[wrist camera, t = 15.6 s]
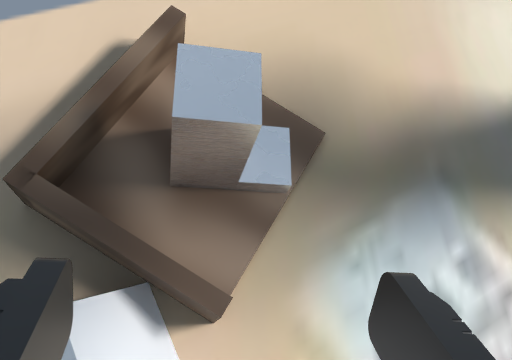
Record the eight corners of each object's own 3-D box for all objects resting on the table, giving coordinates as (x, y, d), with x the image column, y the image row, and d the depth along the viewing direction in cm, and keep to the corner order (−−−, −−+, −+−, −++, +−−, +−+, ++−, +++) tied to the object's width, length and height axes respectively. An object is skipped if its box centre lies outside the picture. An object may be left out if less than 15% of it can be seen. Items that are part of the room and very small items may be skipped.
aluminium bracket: (169, 185, 29) (172, 116, 20) (174, 128, 30) (178, 43, 22) (285, 193, 30) (330, 131, 22) (283, 137, 32) (324, 61, 24)
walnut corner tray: (170, 43, 34) (171, 5, 30) (323, 136, 33) (342, 108, 29) (24, 203, 27) (2, 178, 23) (213, 323, 26) (221, 317, 23)
